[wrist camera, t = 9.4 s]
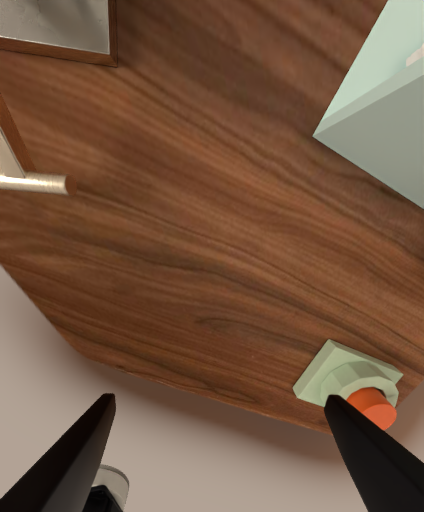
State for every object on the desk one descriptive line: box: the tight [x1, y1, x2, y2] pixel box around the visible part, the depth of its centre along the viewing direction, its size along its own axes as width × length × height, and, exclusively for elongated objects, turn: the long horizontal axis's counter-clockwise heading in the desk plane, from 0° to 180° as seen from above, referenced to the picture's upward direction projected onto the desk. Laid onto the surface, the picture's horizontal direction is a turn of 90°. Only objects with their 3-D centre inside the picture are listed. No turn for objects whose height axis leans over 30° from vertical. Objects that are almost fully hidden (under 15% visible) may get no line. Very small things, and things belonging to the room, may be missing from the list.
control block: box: [293, 339, 403, 407], centre depth 20 cm, size 9×7×3 cm
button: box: [346, 387, 397, 430], centre depth 18 cm, size 4×4×2 cm
